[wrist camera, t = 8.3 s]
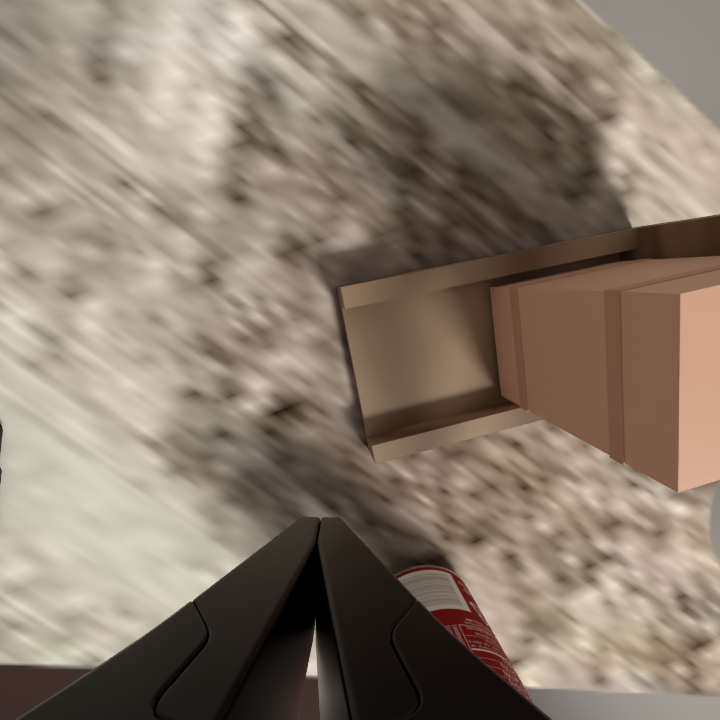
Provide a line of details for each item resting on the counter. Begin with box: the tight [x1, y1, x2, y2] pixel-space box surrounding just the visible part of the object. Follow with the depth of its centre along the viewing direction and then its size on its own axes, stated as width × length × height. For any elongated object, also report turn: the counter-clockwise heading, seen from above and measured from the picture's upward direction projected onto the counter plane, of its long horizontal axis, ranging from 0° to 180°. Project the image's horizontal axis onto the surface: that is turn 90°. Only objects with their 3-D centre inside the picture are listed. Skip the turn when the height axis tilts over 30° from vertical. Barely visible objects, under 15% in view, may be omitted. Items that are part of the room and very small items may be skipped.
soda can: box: [394, 565, 534, 704], centre depth 18 cm, size 7×7×12 cm
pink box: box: [490, 256, 720, 492], centre depth 16 cm, size 7×6×10 cm
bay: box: [336, 215, 720, 464], centre depth 17 cm, size 18×9×10 cm, turn 101°
